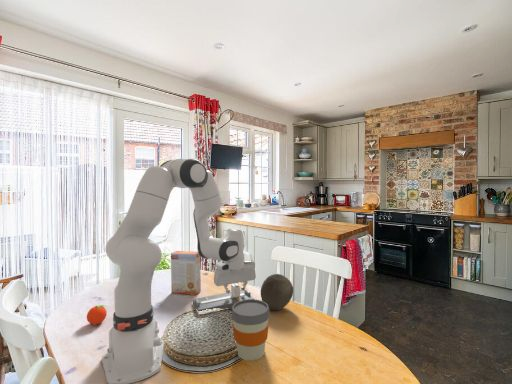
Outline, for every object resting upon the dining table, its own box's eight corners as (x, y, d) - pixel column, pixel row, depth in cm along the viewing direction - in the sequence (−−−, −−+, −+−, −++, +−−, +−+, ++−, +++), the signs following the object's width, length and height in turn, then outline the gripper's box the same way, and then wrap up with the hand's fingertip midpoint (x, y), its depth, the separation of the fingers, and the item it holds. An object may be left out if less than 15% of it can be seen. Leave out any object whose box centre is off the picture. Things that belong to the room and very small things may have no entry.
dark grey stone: (270, 319, 109) (269, 283, 109) (256, 305, 122) (255, 272, 122) (298, 312, 115) (298, 277, 115) (282, 299, 128) (282, 268, 128)
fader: (240, 296, 124) (240, 286, 124) (234, 297, 123) (234, 287, 123) (236, 292, 129) (236, 283, 129) (231, 293, 128) (231, 284, 128)
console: (254, 303, 124) (254, 295, 124) (198, 315, 113) (198, 306, 113) (244, 294, 135) (244, 286, 135) (192, 304, 124) (192, 295, 123)
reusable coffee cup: (239, 368, 80) (239, 319, 79) (227, 345, 91) (226, 302, 91) (276, 357, 85) (276, 311, 84) (260, 337, 96) (259, 296, 96)
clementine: (107, 316, 113) (106, 300, 113) (111, 322, 108) (111, 305, 108) (85, 323, 107) (84, 306, 107) (89, 330, 102) (88, 311, 102)
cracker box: (201, 290, 139) (200, 251, 139) (196, 295, 134) (195, 254, 133) (176, 288, 142) (176, 250, 142) (171, 293, 137) (170, 252, 136)
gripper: (252, 258, 133) (252, 285, 133) (212, 264, 124) (213, 293, 125) (257, 261, 127) (258, 290, 128) (216, 267, 119) (216, 298, 119)
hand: (235, 291), depth 126 cm, fingers open, 6 cm apart
